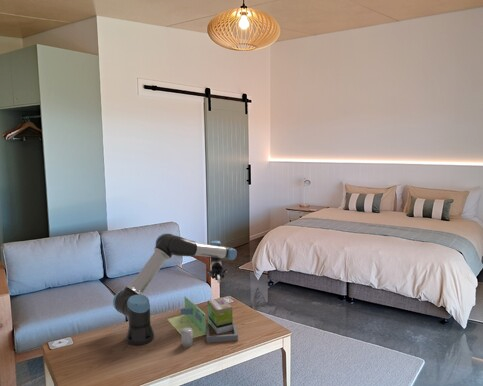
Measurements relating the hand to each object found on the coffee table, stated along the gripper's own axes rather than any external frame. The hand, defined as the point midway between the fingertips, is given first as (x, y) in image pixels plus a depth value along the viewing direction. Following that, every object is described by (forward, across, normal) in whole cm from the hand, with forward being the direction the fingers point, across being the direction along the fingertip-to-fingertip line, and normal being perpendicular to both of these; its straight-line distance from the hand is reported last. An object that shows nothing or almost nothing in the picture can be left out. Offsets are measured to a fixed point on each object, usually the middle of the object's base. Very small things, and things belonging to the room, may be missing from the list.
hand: (218, 280), depth 242 cm
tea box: (+13, +1, -24) cm, 27 cm away
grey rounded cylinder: (+30, +20, -23) cm, 43 cm away
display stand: (+9, +21, -24) cm, 33 cm away
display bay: (+23, +1, -23) cm, 33 cm away
